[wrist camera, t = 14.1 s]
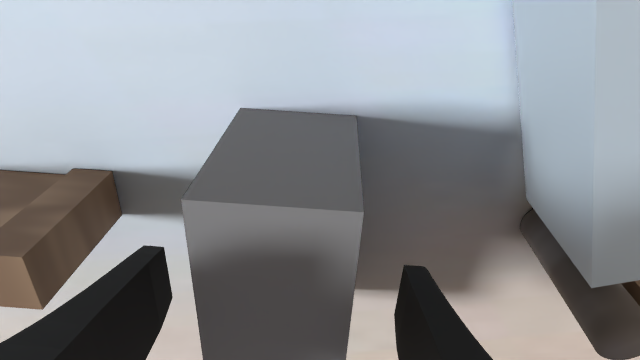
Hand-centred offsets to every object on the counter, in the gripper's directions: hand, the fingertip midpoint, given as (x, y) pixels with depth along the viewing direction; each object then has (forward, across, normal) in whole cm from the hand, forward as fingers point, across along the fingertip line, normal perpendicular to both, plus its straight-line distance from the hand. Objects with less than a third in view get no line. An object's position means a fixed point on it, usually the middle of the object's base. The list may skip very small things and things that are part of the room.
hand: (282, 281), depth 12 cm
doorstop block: (+4, 0, 0) cm, 4 cm away
